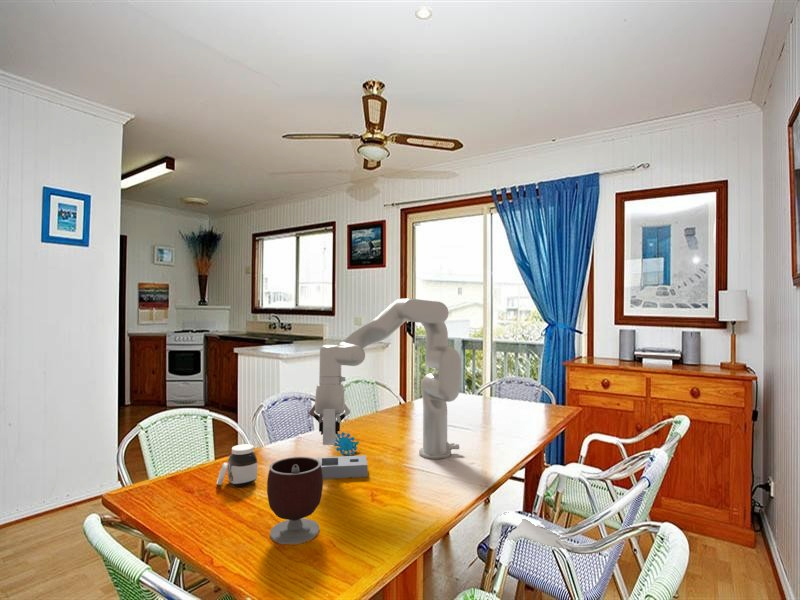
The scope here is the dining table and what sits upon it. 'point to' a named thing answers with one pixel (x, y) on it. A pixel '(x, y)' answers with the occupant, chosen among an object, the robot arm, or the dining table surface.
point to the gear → (346, 444)
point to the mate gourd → (294, 498)
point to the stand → (344, 466)
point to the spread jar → (240, 466)
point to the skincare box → (329, 427)
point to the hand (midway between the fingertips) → (329, 432)
